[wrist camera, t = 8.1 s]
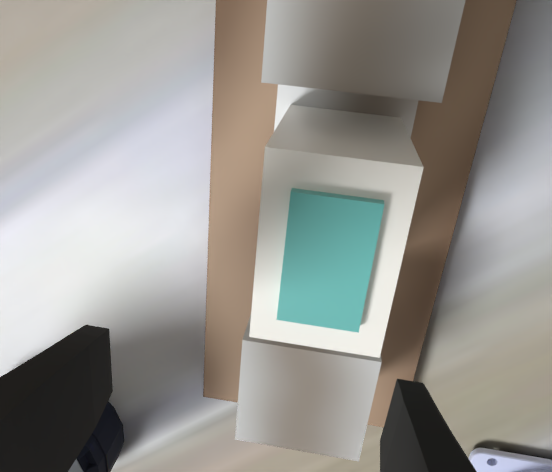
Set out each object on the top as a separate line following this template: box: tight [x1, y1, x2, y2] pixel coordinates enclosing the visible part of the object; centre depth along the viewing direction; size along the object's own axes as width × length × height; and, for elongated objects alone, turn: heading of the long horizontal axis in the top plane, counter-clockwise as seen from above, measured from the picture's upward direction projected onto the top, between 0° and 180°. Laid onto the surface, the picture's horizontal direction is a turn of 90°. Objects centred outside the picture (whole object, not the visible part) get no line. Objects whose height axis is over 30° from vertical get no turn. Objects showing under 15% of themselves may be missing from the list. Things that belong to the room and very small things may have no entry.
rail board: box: [203, 0, 517, 461], centre depth 18 cm, size 10×24×6 cm, turn 175°
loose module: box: [249, 105, 424, 358], centre depth 16 cm, size 4×6×6 cm, turn 175°
